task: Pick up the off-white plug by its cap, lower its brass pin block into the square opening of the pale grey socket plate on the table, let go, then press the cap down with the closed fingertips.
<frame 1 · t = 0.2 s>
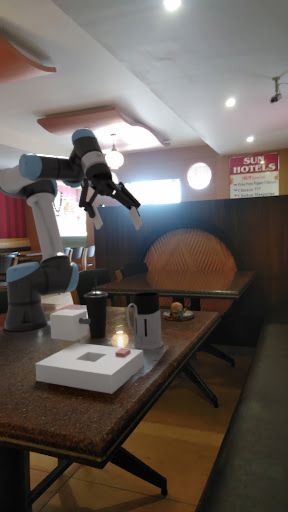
hand: (120, 227, 99), 35 cm above the table, tool tilted 35°, fingers open, 13 cm apart
burger: (178, 318, 137), on the table
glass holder: (143, 347, 102), on the table
socket: (92, 373, 85), on the table
drinking cup: (98, 336, 115), on the table
plug: (70, 350, 102), on the table
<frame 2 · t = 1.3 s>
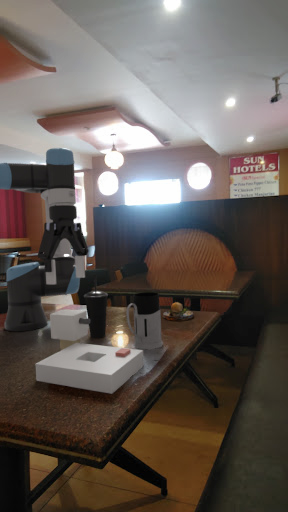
hand: (66, 280, 100), 20 cm above the table, tool pointing down, fingers open, 13 cm apart
nothing on the table moved.
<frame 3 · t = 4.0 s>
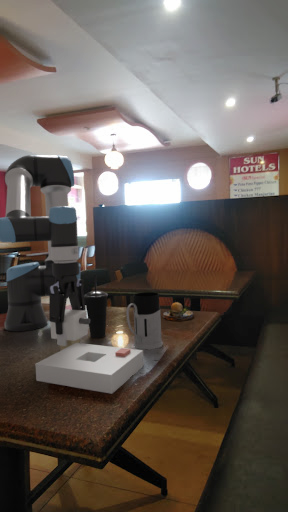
hand: (69, 341, 102), 3 cm above the table, tool pointing down, fingers closed on plug, 6 cm apart
plug: (70, 350, 102), on the table, touching gripper
everything else where it was.
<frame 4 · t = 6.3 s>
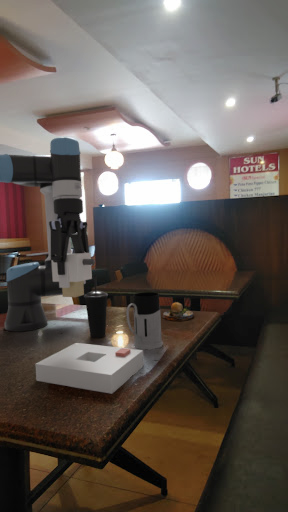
hand: (72, 285, 94), 20 cm above the table, tool pointing down, fingers closed on plug, 6 cm apart
plug: (73, 295, 94), point 17 cm above the table, touching gripper
everything else where it was.
when the fingers open (6 cm above the table, at t = 9.1 s): plug drops 3 cm, resting in socket.
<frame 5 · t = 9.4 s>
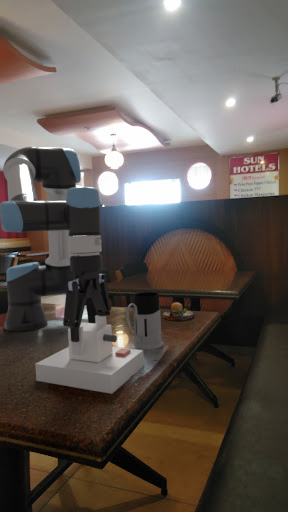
hand: (90, 347, 84), 6 cm above the table, tool pointing down, fingers open, 9 cm apart
plug: (92, 372, 85), resting in socket
everything else where it was.
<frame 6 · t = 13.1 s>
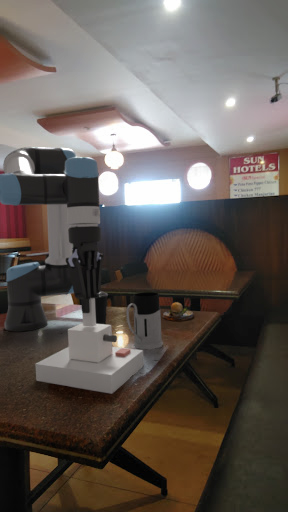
hand: (89, 325, 84), 12 cm above the table, tool pointing down, fingers closed
nothing on the table moved.
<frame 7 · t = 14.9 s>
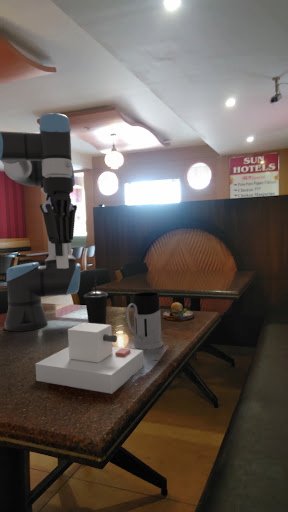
hand: (62, 267, 94), 25 cm above the table, tool pointing down, fingers closed
nothing on the table moved.
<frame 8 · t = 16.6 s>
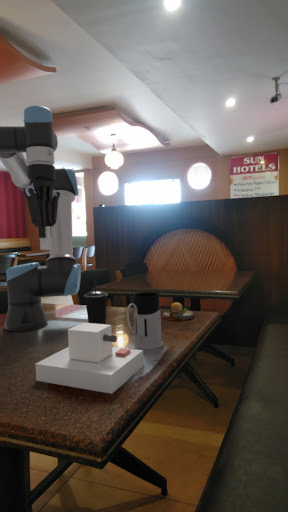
hand: (46, 249, 100), 29 cm above the table, tool pointing down, fingers closed
nothing on the table moved.
at the end: plug 0.1 cm off-centre on the socket, point 0.0 cm above the socket's base; plug tilted 0°; the gripper is holding nothing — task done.
